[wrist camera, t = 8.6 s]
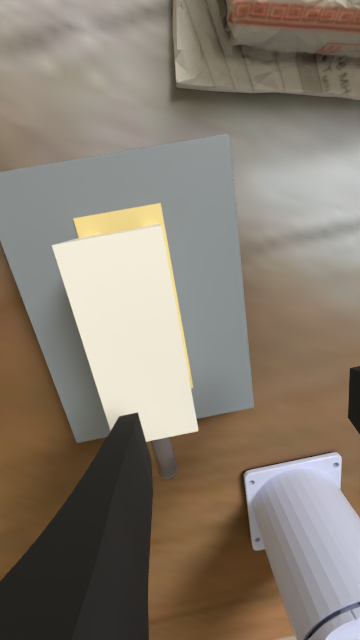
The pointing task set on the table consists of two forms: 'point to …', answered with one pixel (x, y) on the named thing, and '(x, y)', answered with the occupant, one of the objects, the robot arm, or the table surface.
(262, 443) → the table surface
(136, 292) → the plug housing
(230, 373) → the board
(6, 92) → the table surface
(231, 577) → the table surface
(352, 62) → the packaged product
